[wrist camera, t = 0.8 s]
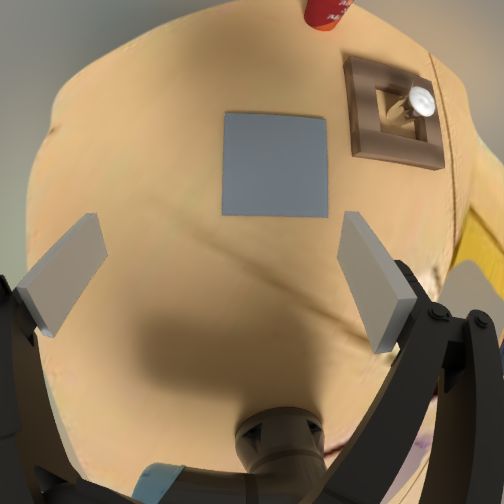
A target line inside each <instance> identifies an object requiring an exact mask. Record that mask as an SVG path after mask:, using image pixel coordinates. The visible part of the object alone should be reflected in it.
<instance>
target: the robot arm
mask: <svg viewBox="0 0 504 504" xmlns="http://www.w3.org/2000/svg"><path fill="white" fill-rule="evenodd" d="M107 256H108V253H107V250H106V246H105V243H104V239H103V235H102V232H101V228H100V224H99V219H98V215H97V213H87V214H85V215H84V216H83V217H82V218H81V219H80V220H79V221H78V222H77V223H76V224H74V225H73V226H72V227H71V228H70V229H69V230H68V231H67V232H66V233H65V234H64V235H63V236H62V237H61V238H60V239H59V240H58V241H57V242H56V243H55V244H54V245H53V246H52V247H51V248H50V249H49V250H48V251H47V252H46V253H45V254H44V255H43V257H42V258H41V259H40V260H39V261H38V262H37V263H36V264H35V265H34V266H33V267H32V269H31V270H30V271H29V272H28V273H27V274H26V276H25V277H24V278H23V279H22V280H21V282H20V283H19V284H18V285H17V286H16V288H15V289H14V290H13V291H11V289H10V287H9V285H8V283H7V281H6V279H5V277H4V276H3V275H0V504H380V502H381V501H382V499H383V498H384V496H385V494H386V493H387V491H388V489H389V488H390V486H391V484H392V483H393V481H394V479H395V477H396V476H397V474H398V472H399V470H400V468H401V466H402V465H403V463H404V461H405V459H406V457H407V455H408V453H409V451H410V449H411V447H412V444H413V442H414V440H415V438H416V436H417V433H418V431H419V429H420V426H421V424H422V422H423V419H424V417H425V414H426V411H427V409H428V406H429V403H430V401H431V398H432V395H433V392H434V389H435V386H436V383H437V380H438V377H439V386H438V401H437V412H436V421H435V429H434V436H433V442H432V448H431V454H430V459H429V464H428V469H427V473H426V478H425V482H424V486H423V490H422V493H421V497H420V500H419V504H501V499H502V493H503V486H504V375H503V368H502V362H501V356H500V350H499V345H498V340H497V335H496V331H495V327H494V323H493V321H492V319H491V318H490V317H489V315H488V314H486V313H485V312H483V311H480V310H472V311H470V313H469V314H468V316H467V317H466V319H462V318H456V317H452V315H451V313H450V311H449V310H448V309H447V308H446V307H445V306H443V305H441V304H439V303H436V302H432V301H431V300H430V298H429V297H428V295H427V294H426V292H425V291H424V289H423V287H422V286H421V284H420V283H419V282H418V280H417V278H416V277H415V276H414V274H413V273H412V271H411V270H410V268H409V267H408V266H407V265H406V264H404V263H403V262H402V261H401V260H393V259H392V257H391V256H390V254H389V253H388V251H387V250H386V249H385V247H384V246H383V244H382V243H381V241H380V240H379V239H378V237H377V236H376V234H375V233H374V232H373V230H372V229H371V228H370V226H369V225H368V224H367V222H366V221H365V219H364V218H363V217H362V216H361V214H360V213H359V212H352V211H345V213H344V220H343V226H342V232H341V238H340V243H339V249H338V254H337V259H338V261H339V264H340V266H341V268H342V271H343V273H344V275H345V278H346V280H347V283H348V285H349V288H350V290H351V293H352V295H353V298H354V300H355V303H356V305H357V308H358V311H359V313H360V316H361V319H362V321H363V324H364V327H365V330H366V332H367V335H368V338H369V341H370V343H371V346H372V349H373V352H374V354H378V353H386V352H391V351H392V350H393V348H394V346H395V344H396V342H397V343H398V345H399V348H400V351H399V352H398V354H397V356H396V358H395V359H394V361H393V363H392V364H391V368H390V371H389V372H388V374H387V376H386V378H385V380H384V382H383V384H382V386H381V388H380V390H379V391H378V393H377V395H376V397H375V399H374V400H373V402H372V404H371V406H370V407H369V409H368V411H367V412H366V414H365V416H364V417H363V419H362V421H361V422H360V424H359V425H358V427H357V428H356V430H355V432H354V433H353V435H352V436H351V438H350V439H349V441H348V442H347V443H346V445H345V446H344V448H343V449H342V451H341V452H340V453H339V455H338V456H337V458H336V459H335V460H334V462H333V463H332V464H331V466H330V467H329V468H328V469H327V467H326V465H325V462H324V460H323V452H324V431H323V428H322V426H321V424H320V422H319V420H318V419H317V417H316V416H314V415H313V414H312V413H310V412H308V411H306V410H303V409H299V408H293V407H281V408H274V409H269V410H266V411H263V412H260V413H258V414H256V415H254V416H252V417H250V418H249V419H248V420H246V421H245V422H244V423H243V424H242V425H241V426H240V428H239V429H238V431H237V434H236V438H235V446H236V453H237V455H238V457H239V459H240V461H241V463H242V464H243V466H244V468H245V470H246V471H247V473H236V472H224V471H214V470H206V469H198V468H192V467H186V466H185V465H181V466H178V465H171V464H165V463H153V464H151V465H149V466H148V467H147V468H146V469H145V470H144V471H143V473H142V474H141V476H140V478H139V480H138V482H137V484H136V486H135V489H134V491H133V494H132V497H128V496H125V495H123V494H120V493H118V492H116V491H113V490H111V489H109V488H106V487H103V486H100V485H97V484H95V483H92V482H89V481H87V480H84V479H82V478H81V476H80V475H79V473H78V472H77V471H76V470H75V469H74V468H73V466H72V465H71V463H70V462H69V460H68V457H67V455H66V452H65V449H64V447H63V444H62V441H61V438H60V435H59V432H58V430H57V426H56V423H55V419H54V416H53V413H52V409H51V406H50V402H49V398H48V394H47V389H46V385H45V380H44V375H43V370H42V365H41V359H40V353H39V346H38V339H37V335H36V333H35V332H34V330H35V328H36V326H37V327H38V328H39V330H40V331H41V333H42V335H44V336H48V337H52V338H54V337H55V336H56V334H57V332H58V330H59V329H60V327H61V325H62V324H63V322H64V320H65V319H66V317H67V315H68V314H69V312H70V311H71V309H72V307H73V306H74V304H75V303H76V301H77V300H78V298H79V297H80V295H81V293H82V292H83V290H84V289H85V287H86V286H87V284H88V283H89V282H90V280H91V279H92V277H93V276H94V274H95V273H96V271H97V270H98V269H99V267H100V266H101V264H102V263H103V262H104V260H105V259H106V257H107ZM41 491H42V492H43V493H42V492H41Z"/></svg>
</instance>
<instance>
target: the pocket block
mask: <svg viewBox="0 0 504 504" xmlns="http://www.w3.org/2000/svg"><path fill="white" fill-rule="evenodd" d="M343 66H344V73H345V81H346V89H347V98H348V107H349V118H350V131H351V147H352V157H360V158H367V159H374V160H380V161H387V162H393V163H398V164H404V165H409V166H415V167H420V168H425V169H429V170H434V171H435V170H439V169H443V168H445V160H444V150H443V142H442V134H441V128H440V121H439V116H438V110H437V105H436V100H435V95H434V91H433V86H432V82H431V81H429V80H427V79H424V78H422V77H419V76H416V75H413V74H411V73H408V72H405V71H402V70H399V69H396V68H392V67H389V66H386V65H383V64H379V63H375V62H372V61H368V60H364V59H360V58H356V57H352V56H350V57H349V58H348V59H347V61H346V62H345V64H344V65H343ZM413 80H414V82H413ZM412 83H413V86H412ZM416 86H417V87H421V88H424V89H426V90H428V92H429V93H430V94H431V96H432V97H433V99H434V104H435V110H434V113H433V114H432V115H431V116H428V117H425V118H422V119H419V120H416V121H414V123H415V130H416V138H417V140H415V139H411V138H407V137H403V136H398V135H394V134H389V133H384V132H381V129H380V120H379V111H378V104H377V97H376V90H375V89H378V90H382V91H386V92H389V93H393V94H396V95H400V96H404V95H405V94H406V93H407V92H408V91H409V90H410V89H411V87H412V88H413V87H416Z"/></svg>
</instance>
